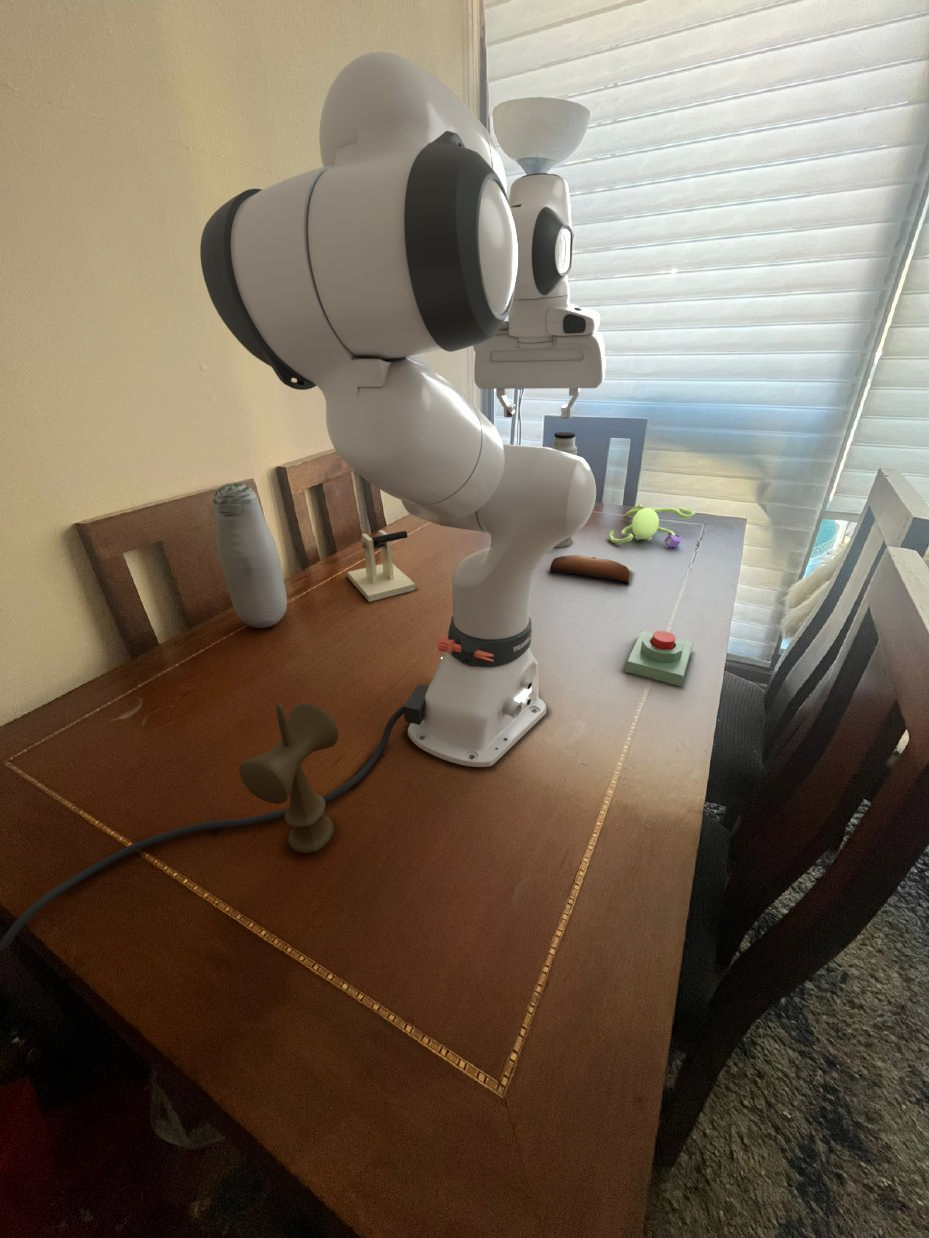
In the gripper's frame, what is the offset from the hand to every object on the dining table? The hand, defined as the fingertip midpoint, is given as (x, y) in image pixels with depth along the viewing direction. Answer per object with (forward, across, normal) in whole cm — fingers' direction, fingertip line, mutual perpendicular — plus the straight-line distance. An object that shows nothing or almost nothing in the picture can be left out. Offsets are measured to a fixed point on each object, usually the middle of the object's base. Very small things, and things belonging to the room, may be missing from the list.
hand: (537, 417), depth 84 cm
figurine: (+45, +20, +53) cm, 72 cm away
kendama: (+32, -12, -61) cm, 70 cm away
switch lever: (+26, -32, -1) cm, 42 cm away
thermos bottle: (+42, -4, +38) cm, 57 cm away
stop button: (+34, +24, -11) cm, 43 cm away
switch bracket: (+38, -36, +1) cm, 52 cm away
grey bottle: (+35, -50, -22) cm, 65 cm away
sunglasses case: (+41, +8, +21) cm, 47 cm away
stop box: (+38, +24, -11) cm, 46 cm away
